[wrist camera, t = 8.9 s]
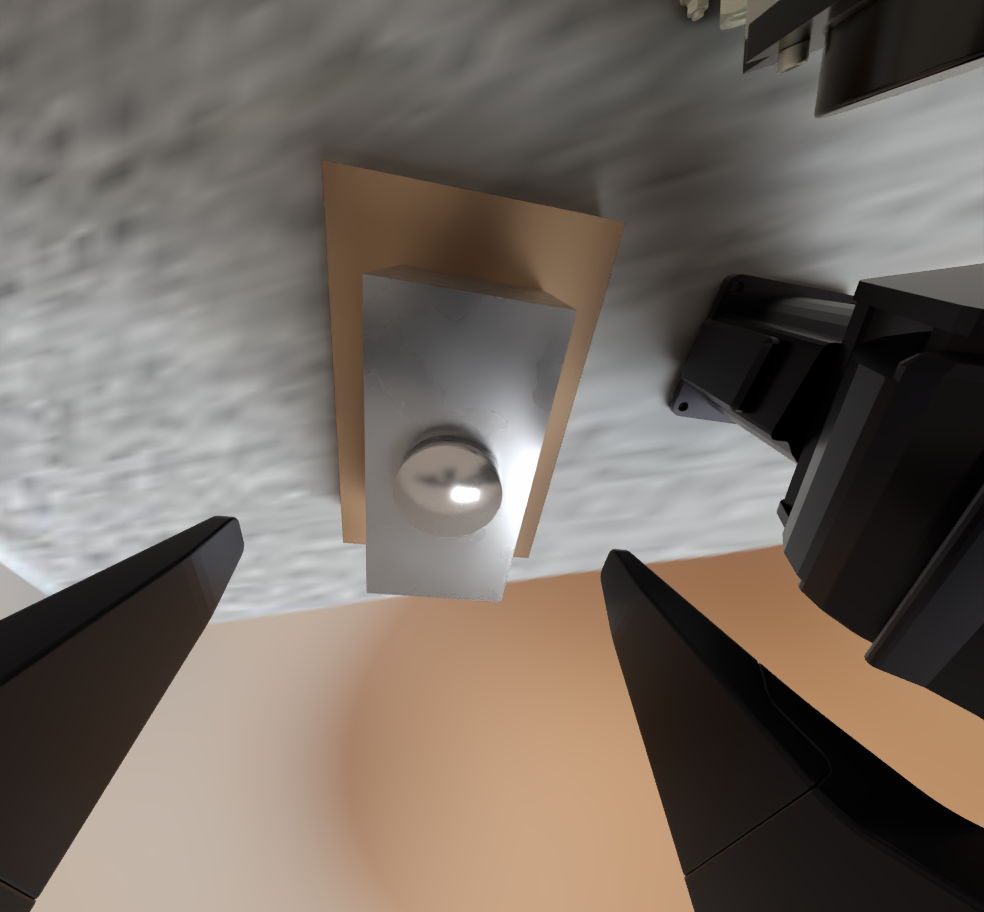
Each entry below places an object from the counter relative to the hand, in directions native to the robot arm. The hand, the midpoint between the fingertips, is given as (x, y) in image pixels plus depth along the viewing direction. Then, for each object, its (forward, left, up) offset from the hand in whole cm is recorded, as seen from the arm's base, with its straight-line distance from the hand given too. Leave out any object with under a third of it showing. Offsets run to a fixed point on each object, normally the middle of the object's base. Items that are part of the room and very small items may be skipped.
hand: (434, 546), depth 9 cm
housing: (0, 0, -8) cm, 8 cm away
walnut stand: (0, 0, -10) cm, 10 cm away
